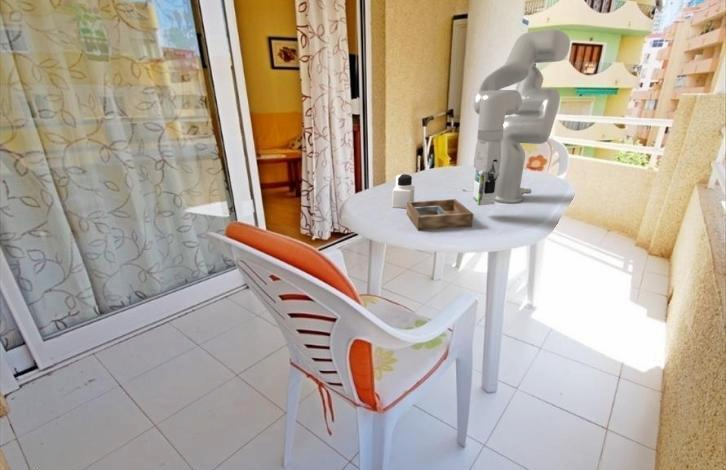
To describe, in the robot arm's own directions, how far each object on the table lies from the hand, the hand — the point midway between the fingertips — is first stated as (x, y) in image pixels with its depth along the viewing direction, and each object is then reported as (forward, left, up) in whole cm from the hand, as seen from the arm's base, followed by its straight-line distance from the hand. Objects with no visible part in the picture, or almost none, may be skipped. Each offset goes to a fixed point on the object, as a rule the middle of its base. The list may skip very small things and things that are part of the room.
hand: (484, 189), depth 114 cm
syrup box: (0, 0, -5) cm, 5 cm away
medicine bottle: (+24, -18, -10) cm, 32 cm away
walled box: (+16, 0, -10) cm, 19 cm away
